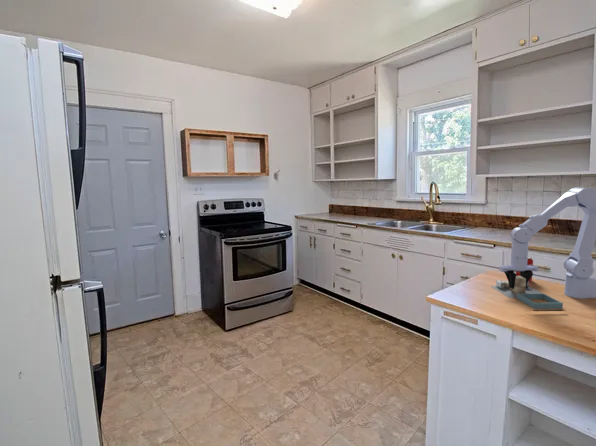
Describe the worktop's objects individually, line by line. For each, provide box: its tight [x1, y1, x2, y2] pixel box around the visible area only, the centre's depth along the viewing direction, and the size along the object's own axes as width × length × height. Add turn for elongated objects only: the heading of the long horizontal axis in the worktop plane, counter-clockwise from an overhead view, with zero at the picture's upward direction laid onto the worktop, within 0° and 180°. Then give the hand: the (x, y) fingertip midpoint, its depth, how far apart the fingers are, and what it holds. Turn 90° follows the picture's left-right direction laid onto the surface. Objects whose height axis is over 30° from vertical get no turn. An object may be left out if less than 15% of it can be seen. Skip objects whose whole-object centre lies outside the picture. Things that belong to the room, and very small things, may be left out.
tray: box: [516, 292, 564, 312], centre depth 124 cm, size 10×10×3 cm
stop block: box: [509, 276, 526, 293], centre depth 137 cm, size 4×4×6 cm
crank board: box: [490, 285, 542, 299], centre depth 137 cm, size 16×14×1 cm
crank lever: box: [495, 280, 530, 288], centre depth 142 cm, size 12×4×3 cm, turn 87°
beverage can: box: [515, 255, 534, 283], centre depth 151 cm, size 6×6×12 cm
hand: (517, 287), depth 137 cm, fingers closed on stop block, 4 cm apart
